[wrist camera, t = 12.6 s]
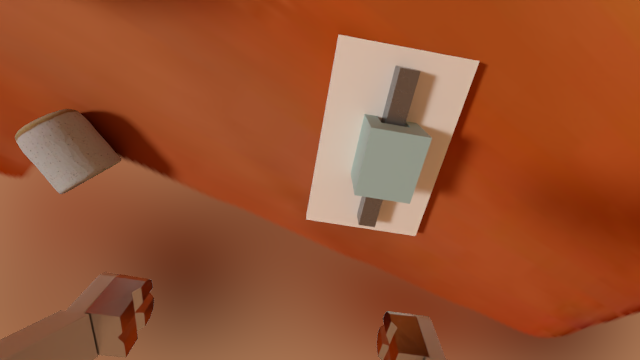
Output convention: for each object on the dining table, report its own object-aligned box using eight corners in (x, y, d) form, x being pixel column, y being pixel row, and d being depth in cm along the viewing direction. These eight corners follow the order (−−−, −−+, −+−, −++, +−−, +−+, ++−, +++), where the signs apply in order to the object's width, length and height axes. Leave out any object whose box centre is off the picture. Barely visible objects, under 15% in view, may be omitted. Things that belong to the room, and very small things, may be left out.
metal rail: (395, 65, 35) (400, 67, 33) (414, 68, 35) (420, 71, 33) (356, 214, 43) (358, 224, 41) (372, 217, 44) (374, 227, 41)
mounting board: (338, 34, 35) (339, 34, 34) (473, 60, 36) (479, 61, 35) (306, 213, 45) (306, 219, 44) (412, 230, 46) (415, 236, 45)
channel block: (364, 113, 37) (371, 127, 32) (416, 122, 38) (432, 138, 32) (350, 173, 41) (354, 195, 35) (398, 181, 41) (409, 203, 36)
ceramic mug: (86, 99, 39) (33, 114, 32) (133, 153, 42) (94, 177, 35) (31, 139, 41) (-29, 160, 34) (79, 187, 44) (32, 216, 37)
